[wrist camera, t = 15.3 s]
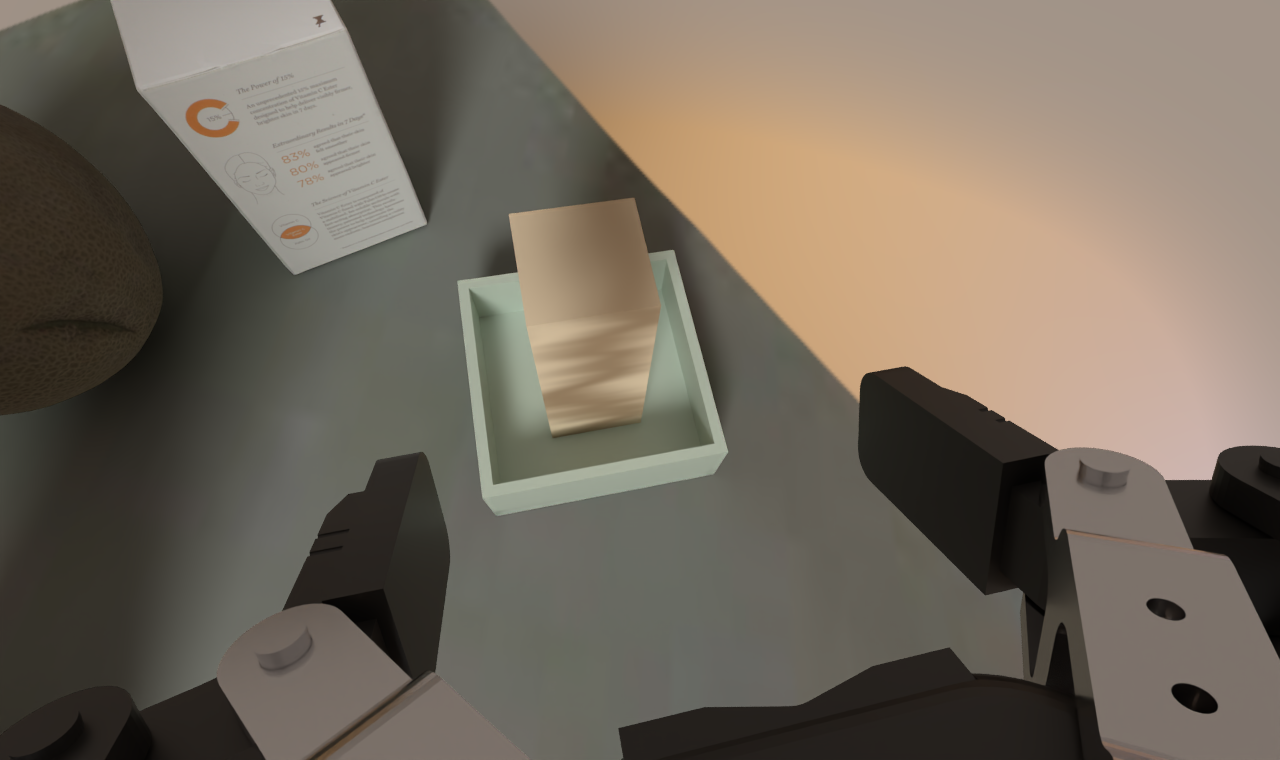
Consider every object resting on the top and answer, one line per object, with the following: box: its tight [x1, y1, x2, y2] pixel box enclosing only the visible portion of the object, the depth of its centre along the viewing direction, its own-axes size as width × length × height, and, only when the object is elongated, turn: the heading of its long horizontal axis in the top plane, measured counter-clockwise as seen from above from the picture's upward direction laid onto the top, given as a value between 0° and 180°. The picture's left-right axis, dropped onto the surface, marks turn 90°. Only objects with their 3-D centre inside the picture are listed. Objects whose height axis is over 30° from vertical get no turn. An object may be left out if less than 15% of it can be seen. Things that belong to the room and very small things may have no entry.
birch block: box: [509, 198, 661, 438], centre depth 27 cm, size 4×4×12 cm
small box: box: [110, 0, 427, 275], centre depth 32 cm, size 8×6×13 cm
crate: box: [457, 250, 728, 516], centre depth 32 cm, size 11×11×4 cm
